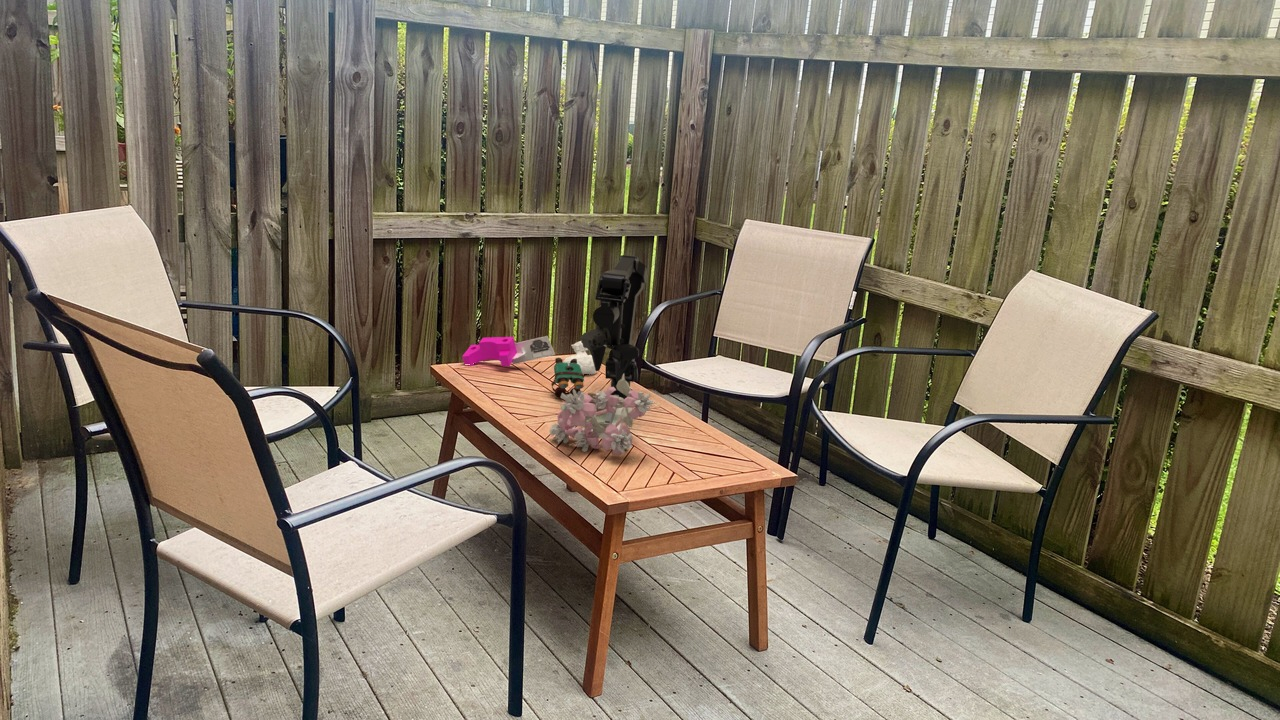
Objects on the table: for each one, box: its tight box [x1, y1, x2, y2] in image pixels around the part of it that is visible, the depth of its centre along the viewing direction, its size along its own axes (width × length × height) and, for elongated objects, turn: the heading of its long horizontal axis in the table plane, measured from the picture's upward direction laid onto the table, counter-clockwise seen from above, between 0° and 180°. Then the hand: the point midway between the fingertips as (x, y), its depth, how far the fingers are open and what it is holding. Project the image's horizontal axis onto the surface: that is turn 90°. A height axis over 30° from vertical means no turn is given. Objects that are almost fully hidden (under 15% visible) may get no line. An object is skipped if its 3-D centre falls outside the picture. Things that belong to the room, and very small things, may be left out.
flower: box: [549, 374, 655, 456], centre depth 241 cm, size 20×22×25 cm
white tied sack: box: [563, 340, 598, 376], centre depth 308 cm, size 12×8×11 cm, turn 114°
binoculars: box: [551, 357, 585, 399], centre depth 283 cm, size 9×11×10 cm
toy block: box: [462, 336, 517, 367], centre depth 304 cm, size 15×6×8 cm
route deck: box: [557, 390, 624, 440], centre depth 262 cm, size 25×16×5 cm, turn 176°
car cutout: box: [511, 335, 556, 365], centre depth 303 cm, size 15×7×4 cm
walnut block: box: [586, 392, 605, 412], centre depth 267 cm, size 5×5×4 cm
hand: (607, 375), depth 265 cm, fingers open, 9 cm apart
